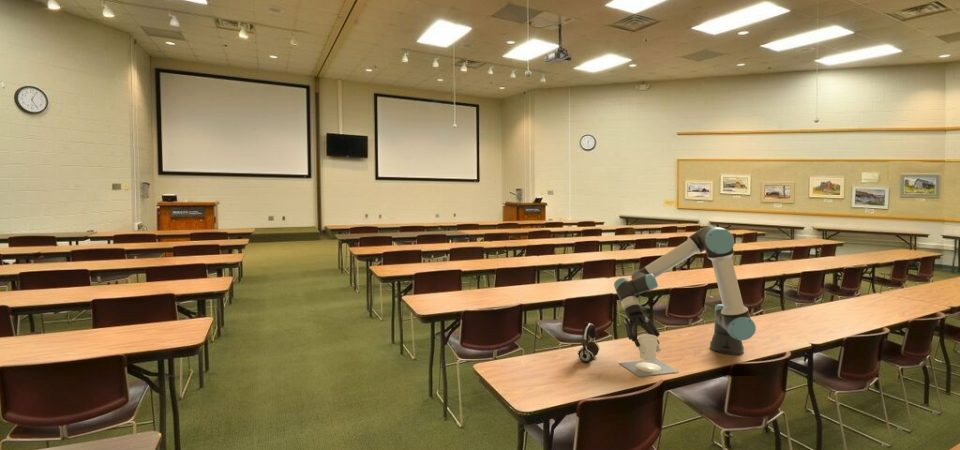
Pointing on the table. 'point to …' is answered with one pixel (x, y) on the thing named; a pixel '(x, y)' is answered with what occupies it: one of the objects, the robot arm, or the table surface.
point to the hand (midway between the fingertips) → (651, 352)
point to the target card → (648, 367)
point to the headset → (588, 343)
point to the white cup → (648, 346)
